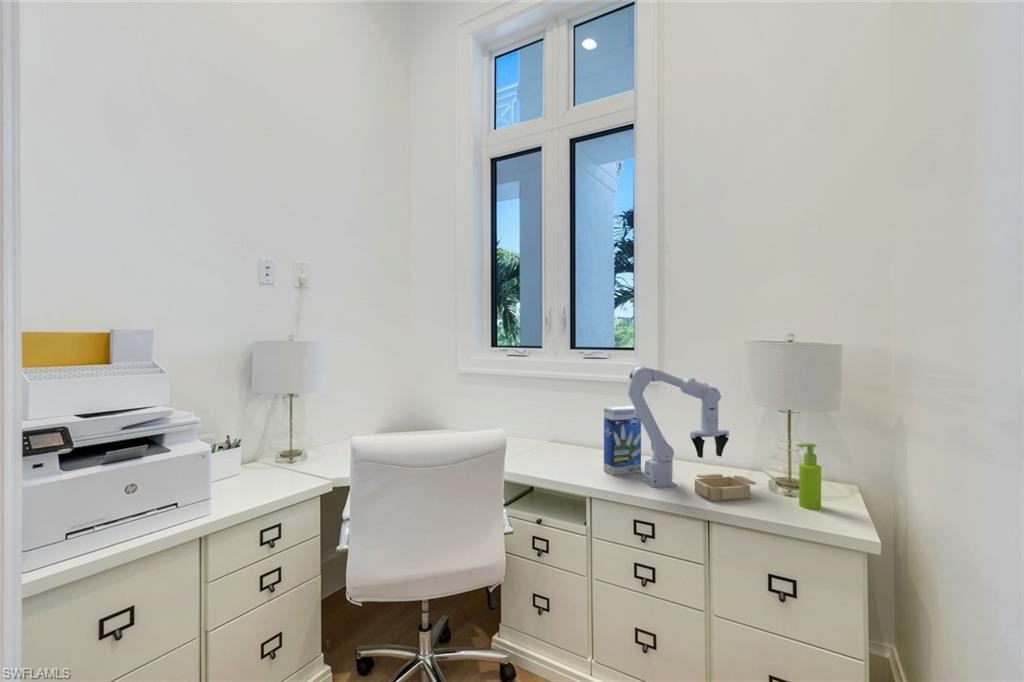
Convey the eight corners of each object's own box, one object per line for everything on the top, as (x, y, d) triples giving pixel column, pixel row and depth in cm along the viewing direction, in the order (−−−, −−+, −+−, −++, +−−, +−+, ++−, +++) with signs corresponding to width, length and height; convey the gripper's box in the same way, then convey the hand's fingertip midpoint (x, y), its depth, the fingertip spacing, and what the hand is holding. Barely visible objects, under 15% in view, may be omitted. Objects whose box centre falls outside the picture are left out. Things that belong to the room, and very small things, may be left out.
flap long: (702, 475, 161) (696, 474, 165) (702, 478, 161) (697, 477, 164) (722, 474, 163) (716, 473, 166) (722, 476, 163) (716, 475, 166)
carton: (711, 503, 150) (711, 489, 150) (692, 492, 160) (692, 478, 160) (752, 500, 152) (752, 486, 152) (730, 489, 163) (730, 476, 163)
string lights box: (612, 475, 179) (612, 409, 179) (602, 470, 186) (602, 406, 186) (641, 472, 183) (641, 407, 183) (631, 467, 191) (631, 405, 190)
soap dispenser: (791, 502, 150) (792, 441, 150) (813, 503, 150) (813, 441, 149) (802, 509, 144) (803, 446, 144) (825, 509, 144) (825, 446, 143)
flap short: (746, 481, 155) (755, 482, 156) (733, 475, 162) (742, 476, 162) (746, 483, 155) (755, 484, 156) (733, 477, 162) (742, 478, 162)
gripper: (698, 422, 162) (698, 460, 162) (734, 420, 165) (734, 458, 165) (686, 418, 169) (686, 455, 169) (722, 417, 172) (721, 453, 172)
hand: (709, 456), depth 168 cm, fingers open, 7 cm apart
